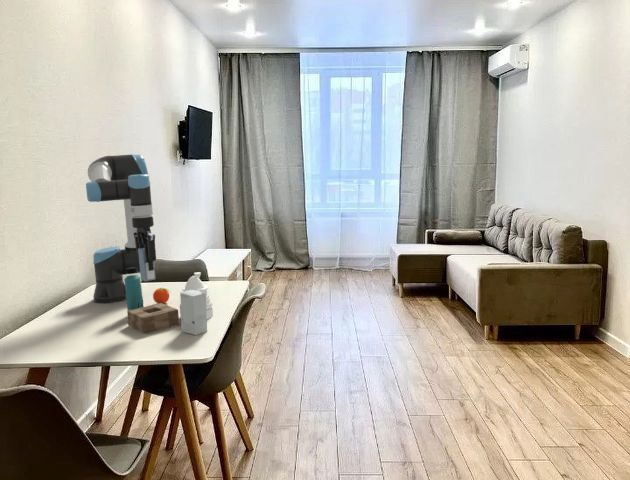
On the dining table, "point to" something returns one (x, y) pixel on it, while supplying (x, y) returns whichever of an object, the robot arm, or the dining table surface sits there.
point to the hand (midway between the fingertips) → (148, 277)
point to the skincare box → (193, 312)
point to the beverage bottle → (133, 290)
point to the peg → (143, 264)
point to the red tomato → (161, 295)
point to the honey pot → (197, 285)
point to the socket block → (153, 318)
